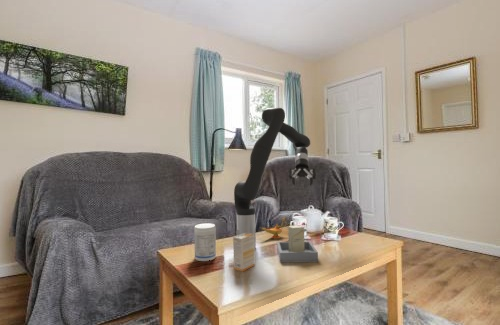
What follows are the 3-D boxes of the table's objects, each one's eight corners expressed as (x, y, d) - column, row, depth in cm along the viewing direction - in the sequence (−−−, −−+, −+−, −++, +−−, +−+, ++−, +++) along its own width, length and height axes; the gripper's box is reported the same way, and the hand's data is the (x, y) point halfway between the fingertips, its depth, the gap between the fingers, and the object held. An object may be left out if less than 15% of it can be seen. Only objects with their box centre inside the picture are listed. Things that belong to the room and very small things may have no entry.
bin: (280, 262, 115) (279, 252, 115) (277, 250, 131) (277, 241, 131) (318, 261, 114) (317, 252, 114) (310, 249, 130) (310, 241, 130)
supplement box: (246, 262, 115) (245, 232, 115) (255, 265, 112) (254, 233, 112) (233, 269, 108) (232, 236, 108) (242, 271, 105) (241, 238, 105)
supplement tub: (197, 254, 126) (196, 223, 126) (217, 254, 126) (216, 222, 126) (192, 262, 117) (191, 228, 117) (214, 261, 116) (213, 227, 116)
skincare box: (292, 255, 120) (291, 228, 120) (288, 252, 124) (287, 225, 124) (305, 254, 121) (304, 227, 121) (300, 250, 126) (300, 224, 126)
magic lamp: (256, 238, 152) (256, 218, 152) (283, 234, 160) (283, 215, 160) (262, 241, 145) (262, 221, 145) (290, 236, 154) (289, 217, 154)
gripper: (288, 158, 152) (288, 179, 141) (314, 157, 149) (316, 179, 138) (289, 167, 157) (289, 188, 146) (314, 166, 155) (316, 188, 143)
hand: (302, 184), depth 142 cm, fingers open, 8 cm apart
